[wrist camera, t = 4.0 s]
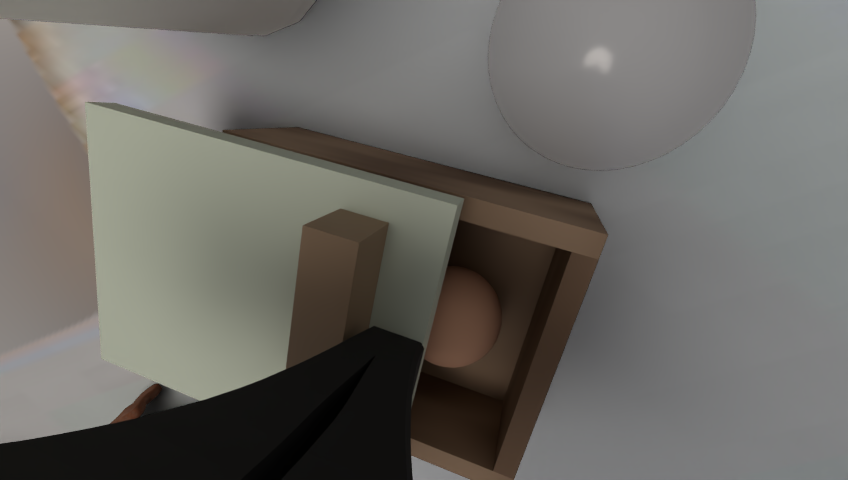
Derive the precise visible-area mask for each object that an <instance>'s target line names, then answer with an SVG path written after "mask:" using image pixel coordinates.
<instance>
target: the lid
mask: <svg viewBox="0 0 848 480" xmlns="http://www.w3.org/2000/svg"><path fill="white" fill-rule="evenodd" d="M85 111H86V127H87V142H88V158H89V173H90V189H91V205H92V220H93V235H94V252H95V267H96V283H97V297H98V298H97V299H98V314H99V330H100V346H101V359H103V360H105V361H108V362H110V363H112V364H115V365H117V366H119V367H122V368H124V369H126V370H129V371H131V372H133V373H136V374H138V375H140V376H143V377H145V378H148V379H150V380H152V381H155V382H157V383H159V384H162V385H164V386H166V387H169V388H171V389H173V390H176V391H178V392H180V393H183V394H185V395H187V396H190V397H192V398H194V399H197V400H199V401H201V400H205V399H208V398H211V397H214V396H217V395H220V394H223V393H226V392H229V391H232V390H235V389H238V388H241V387H243V386H246V385H249V384H252V383H254V382H257V381H259V380H262V379H264V378H267V377H269V376H271V375H274V374H276V373H278V372H281V371H283V370H285V369H288V368H290V367H292V366H294V365H297V364H299V363H301V362H303V361H305V360H307V359H309V358H311V357H313V356H316V355H318V354H320V353H322V352H324V351H326V350H328V349H330V348H332V347H334V346H336V345H337V344H339V343H341V342H343V341H345V340H347V339H349V338H351V337H353V336H355V335H357V334H358V333H360V332H362V331H364V330H366V329H369V328H371V327H373V326H376V327H379V328H382V329H385V330H387V331H390V332H393V333H396V334H399V335H402V336H404V337H407V338H410V339H413V340H416V341H419V342H421V343H422V345H423V347H424V352H423V356H422V360H421V364H420V368H419V372H418V376H417V379H416V383H415V387H414V391H413V395H412V404H413V400H414V396H415V392H416V388H417V384H418V380H419V376H420V372H421V368H422V364H423V360H424V356H425V352H426V348H427V344H428V340H429V336H430V332H431V329H432V325H433V321H434V317H435V313H436V309H437V305H438V301H439V297H440V293H441V289H442V285H443V281H444V277H445V273H446V269H447V265H448V261H449V257H450V253H451V249H452V245H453V241H454V237H455V233H456V229H457V225H458V221H459V217H460V213H461V210H462V206H463V202H464V198H460V197H457V196H453V195H449V194H446V193H442V192H438V191H435V190H431V189H427V188H424V187H420V186H416V185H413V184H409V183H405V182H402V181H398V180H394V179H391V178H387V177H383V176H380V175H376V174H373V173H369V172H365V171H362V170H358V169H354V168H351V167H347V166H343V165H340V164H336V163H332V162H329V161H325V160H321V159H318V158H314V157H310V156H307V155H303V154H299V153H296V152H292V151H288V150H285V149H281V148H278V147H274V146H270V145H267V144H263V143H259V142H256V141H252V140H248V139H245V138H241V137H237V136H234V135H230V134H226V133H223V132H219V131H215V130H212V129H208V128H204V127H201V126H197V125H194V124H190V123H186V122H183V121H179V120H175V119H172V118H168V117H164V116H161V115H157V114H153V113H150V112H146V111H142V110H139V109H135V108H131V107H128V106H124V105H120V104H117V103H101V102H85ZM411 408H412V406H411Z"/></svg>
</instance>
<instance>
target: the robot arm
mask: <svg viewBox="0 0 848 480" xmlns="http://www.w3.org/2000/svg"><path fill="white" fill-rule="evenodd" d="M423 352H424V347H423V345H422V343H421V342H419V341H416V340H413V339H410V338H407V337H404V336H402V335H399V334H396V333H393V332H390V331H387V330H385V329H382V328H379V327H376V326H373V327H371V328H369V329H366V330H364V331H362V332H360V333H358V334H357V335H355V336H353V337H351V338H349V339H347V340H345V341H343V342H341V343H339V344H337V345H336V346H334V347H332V348H330V349H328V350H326V351H324V352H322V353H320V354H318V355H316V356H313V357H311V358H309V359H307V360H305V361H303V362H301V363H299V364H297V365H294V366H292V367H290V368H288V369H285V370H283V371H281V372H278V373H276V374H274V375H271V376H269V377H267V378H264V379H262V380H259V381H257V382H254V383H252V384H249V385H246V386H243V387H241V388H238V389H235V390H232V391H229V392H226V393H223V394H220V395H217V396H214V397H211V398H208V399H205V400H201V401H198V402H195V403H191V404H187V405H184V406H180V407H176V408H172V409H169V410H165V411H161V412H157V413H154V414H150V415H146V416H142V417H139V418H135V419H131V420H126V421H122V422H117V423H113V424H108V425H103V426H99V427H94V428H89V429H84V430H79V431H73V432H68V433H63V434H58V435H52V436H47V437H41V438H35V439H29V440H23V441H17V442H10V443H3V444H0V480H413V478H412V463H411V406H412V395H413V391H414V387H415V383H416V379H417V376H418V372H419V368H420V364H421V360H422V356H423Z"/></svg>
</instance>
